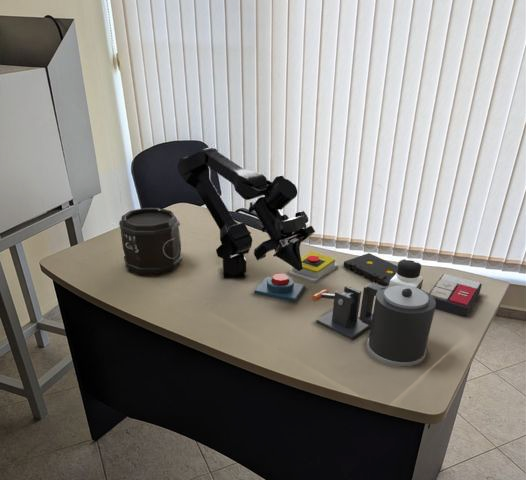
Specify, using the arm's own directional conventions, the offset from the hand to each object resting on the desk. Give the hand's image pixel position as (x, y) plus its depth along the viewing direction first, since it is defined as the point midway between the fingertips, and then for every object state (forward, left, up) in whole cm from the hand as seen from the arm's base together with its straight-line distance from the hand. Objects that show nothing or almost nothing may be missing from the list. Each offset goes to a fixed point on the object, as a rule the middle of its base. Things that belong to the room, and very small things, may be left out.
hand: (300, 269), depth 129 cm
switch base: (+9, -12, -10) cm, 18 cm away
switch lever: (+7, -9, -5) cm, 13 cm away
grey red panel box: (+43, -2, -11) cm, 45 cm away
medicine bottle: (+29, -2, -11) cm, 31 cm away
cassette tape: (+28, +16, -11) cm, 34 cm away
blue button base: (-4, +7, -10) cm, 13 cm away
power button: (-4, +7, -7) cm, 11 cm away
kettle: (+18, -22, -10) cm, 30 cm away
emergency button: (+9, +20, -10) cm, 25 cm away
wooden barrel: (-40, +29, -11) cm, 51 cm away
